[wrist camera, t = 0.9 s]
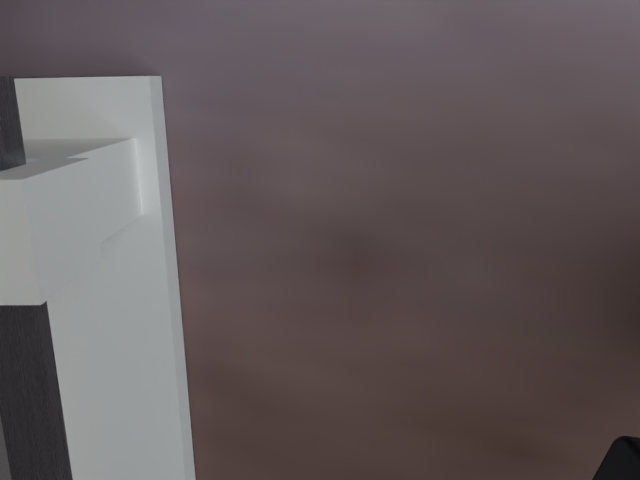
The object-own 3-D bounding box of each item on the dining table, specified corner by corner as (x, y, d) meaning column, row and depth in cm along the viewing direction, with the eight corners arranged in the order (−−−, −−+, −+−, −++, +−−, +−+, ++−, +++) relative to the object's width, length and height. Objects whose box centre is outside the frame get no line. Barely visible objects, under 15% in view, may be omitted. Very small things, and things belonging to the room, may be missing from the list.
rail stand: (208, 632, 25) (134, 931, 16) (64, 629, 25) (-85, 922, 16) (161, 76, 19) (6, 75, 10) (-25, 79, 19) (-327, 82, 11)
